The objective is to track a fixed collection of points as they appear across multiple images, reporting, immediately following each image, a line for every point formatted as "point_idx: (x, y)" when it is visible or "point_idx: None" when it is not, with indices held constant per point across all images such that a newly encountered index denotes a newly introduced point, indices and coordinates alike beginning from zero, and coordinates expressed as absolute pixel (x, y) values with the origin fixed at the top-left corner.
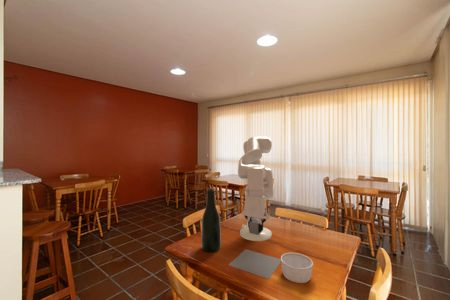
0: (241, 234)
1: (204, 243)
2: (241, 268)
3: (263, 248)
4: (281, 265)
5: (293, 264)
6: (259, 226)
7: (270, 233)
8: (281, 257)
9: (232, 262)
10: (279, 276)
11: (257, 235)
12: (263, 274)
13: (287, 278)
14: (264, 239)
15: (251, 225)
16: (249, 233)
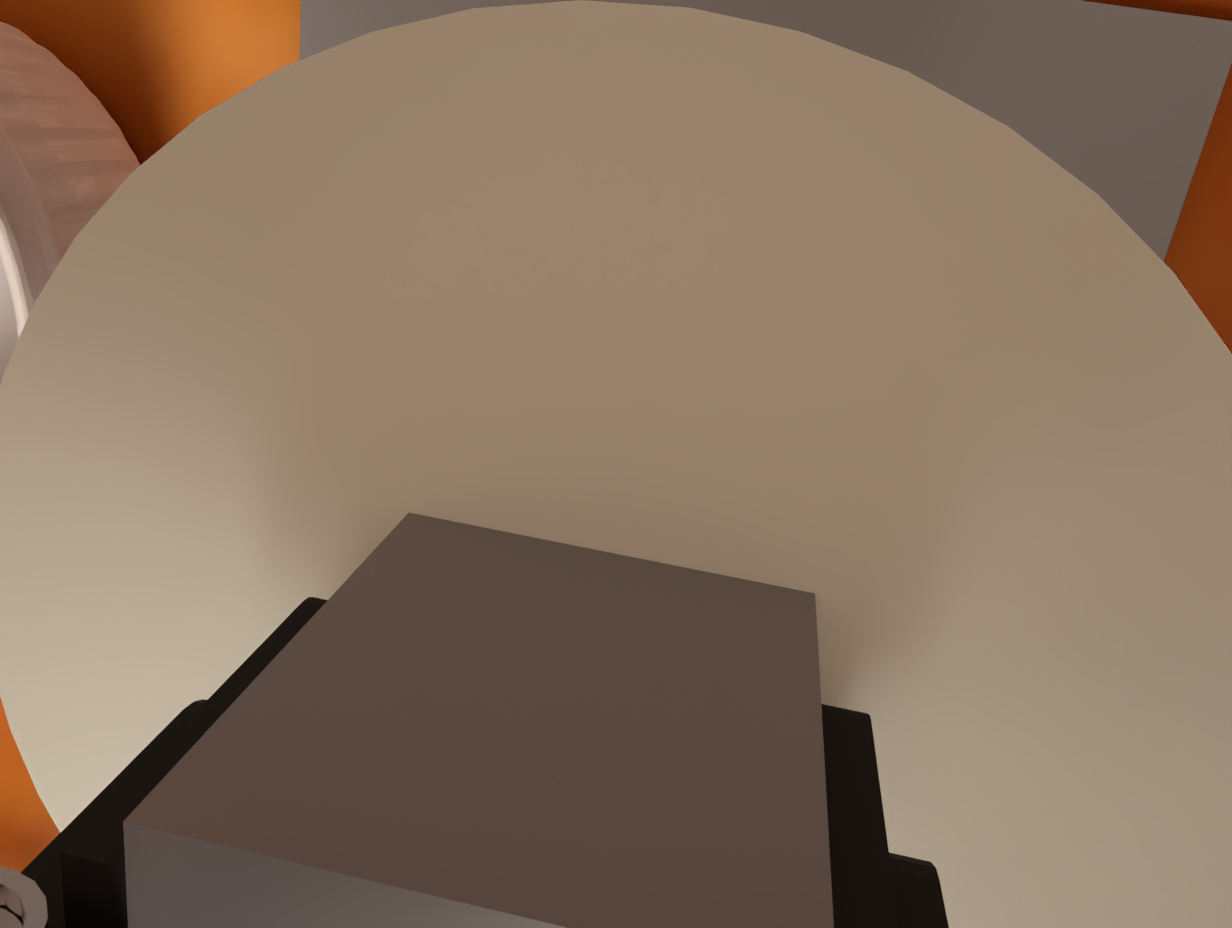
0: (1161, 292)
1: None
2: (901, 16)
3: None
4: (83, 195)
5: None
6: (159, 771)
7: (55, 758)
8: (4, 269)
9: (1161, 168)
10: (191, 99)
11: (403, 447)
12: (433, 3)
13: (21, 31)
14: (83, 266)
15: (667, 806)
16: (791, 530)
